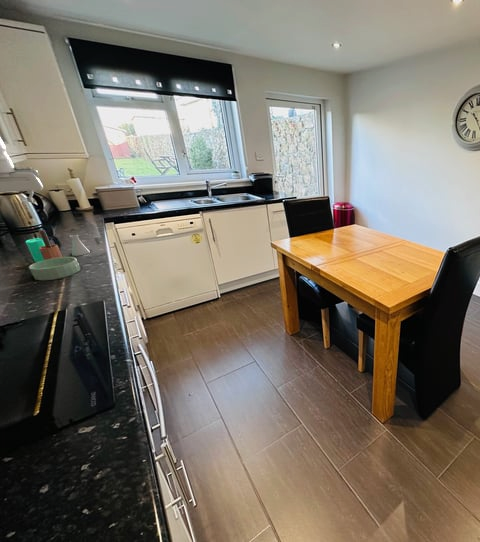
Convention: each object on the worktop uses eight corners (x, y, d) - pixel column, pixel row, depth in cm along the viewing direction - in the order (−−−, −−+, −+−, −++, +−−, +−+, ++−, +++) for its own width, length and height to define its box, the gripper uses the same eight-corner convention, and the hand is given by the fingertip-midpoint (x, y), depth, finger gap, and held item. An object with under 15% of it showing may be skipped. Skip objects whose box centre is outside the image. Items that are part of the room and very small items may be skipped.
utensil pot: (46, 268, 127) (38, 249, 124) (48, 264, 131) (40, 246, 128) (64, 265, 131) (56, 247, 127) (65, 261, 135) (58, 243, 131)
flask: (93, 253, 145) (86, 234, 141) (74, 257, 140) (66, 238, 136) (87, 250, 149) (80, 232, 145) (69, 254, 143) (61, 235, 139)
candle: (38, 259, 136) (27, 235, 131) (55, 257, 139) (45, 234, 134) (32, 263, 131) (20, 239, 127) (50, 261, 134) (39, 237, 129)
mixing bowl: (31, 284, 113) (25, 272, 110) (37, 273, 123) (32, 261, 120) (79, 275, 121) (74, 263, 119) (81, 265, 131) (77, 254, 129)
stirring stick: (52, 264, 130) (36, 231, 123) (52, 263, 131) (37, 230, 124) (60, 263, 131) (45, 230, 125) (60, 262, 132) (45, 229, 126)
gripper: (36, 166, 120) (50, 199, 125) (-41, 167, 108) (-22, 204, 113) (34, 167, 115) (48, 201, 121) (-47, 168, 103) (-27, 206, 109)
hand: (14, 202), depth 117 cm, fingers open, 8 cm apart
